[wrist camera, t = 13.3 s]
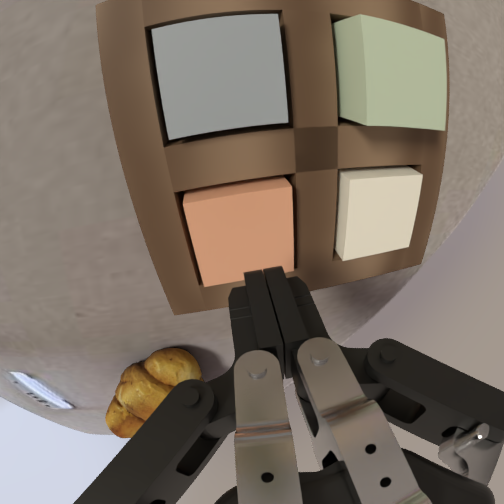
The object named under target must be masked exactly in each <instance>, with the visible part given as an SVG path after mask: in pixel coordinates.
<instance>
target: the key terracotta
mask: <svg viewBox="0 0 504 504" xmlns="http://www.w3.org/2000/svg"><path fill="white" fill-rule="evenodd" d="M183 207H184V211H185V215H186V219H187V223H188V227H189V231H190V235H191V239H192V243H193V247H194V251H195V255H196V258H197V262H198V266H199V269H200V273H201V277H202V280H203V284H204V287H207V286H213V285H219V284H225V283H231V282H236V281H242V280H244V274H243V272H248V271H254V270H260V269H262V271H263V269H265V268H270V267H276V266H282V267H283V270H284V273H286V272H291V271H294V238H293V201H292V186H291V185H290V183H289V182H288V181H287V180H286V178H285V177H284V176H283V175H275V176H268V177H260V178H253V179H247V180H240V181H234V182H228V183H222V184H216V185H210V186H205V187H199V188H194V189H189V190H185V194H184V200H183Z"/></svg>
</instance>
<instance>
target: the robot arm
mask: <svg viewBox="0 0 504 504" xmlns="http://www.w3.org/2000/svg"><path fill="white" fill-rule="evenodd" d="M243 274H244V280H245V286H240V287H234V288H232V290H231V292H230V294H229V297H228V303H229V311H230V319H231V327H232V335H233V342H234V349H235V360H234V363H233V365H232V367H231V368H230V369H229V370H228V371H227V372H226V373H225V374H223V375H222V376H220V377H218V378H216V379H213V380H211V381H209V382H207V383H205V382H204V381H201V380H198V379H188V380H184V381H182V382H180V383H178V384H177V385H176V386H175V387H174V388H173V389H172V390H171V391H170V392H169V394H168V395H167V396H166V397H165V398H164V400H163V401H162V402H161V403H160V405H159V406H158V407H157V408H156V409H155V411H154V412H153V413H152V414H151V415H150V416H149V418H148V419H147V420H146V421H145V422H144V424H143V425H142V426H141V427H140V428H139V429H138V431H137V432H136V433H135V434H134V435H133V437H132V438H131V439H130V440H129V441H128V442H127V444H126V445H125V446H124V447H123V448H122V449H121V451H120V452H119V453H118V454H117V455H116V457H114V459H113V460H112V461H111V462H110V463H109V464H108V465H107V467H106V468H105V469H104V470H103V471H102V472H101V473H100V474H99V476H98V477H97V478H96V479H95V480H94V481H93V482H92V484H91V485H90V486H89V487H88V488H87V489H86V490H85V491H84V492H83V493H82V494H81V496H80V497H79V498H78V499H77V500H76V501H75V502H74V503H73V504H176V502H177V501H178V500H179V498H181V496H182V495H183V494H184V493H185V491H186V490H187V489H188V488H189V486H190V485H191V484H192V483H193V481H194V480H195V479H196V478H197V476H198V475H199V474H200V472H201V471H202V470H203V468H204V467H205V466H206V465H207V463H208V462H209V460H210V459H211V458H212V456H213V455H214V454H215V452H216V451H217V449H218V448H219V447H220V445H221V444H222V443H223V441H224V440H225V438H226V437H227V435H228V434H229V433H231V432H233V431H235V430H236V432H235V437H234V447H235V463H236V478H237V486H235V487H233V488H232V489H230V490H228V491H227V492H226V493H225V494H223V495H222V496H221V497H220V498H219V499H218V500H217V501H216V502H215V504H495V499H494V495H493V493H492V491H491V490H490V488H488V487H487V485H488V483H489V481H490V479H491V476H492V474H493V471H494V469H495V466H496V464H497V461H498V458H499V455H500V452H501V450H502V446H503V444H504V392H503V391H501V390H499V389H497V388H495V387H492V386H490V385H488V384H486V383H484V382H481V381H479V380H477V379H475V378H473V377H471V376H468V375H467V374H465V373H462V372H460V371H458V370H456V369H454V368H452V367H450V366H448V365H446V364H443V363H441V362H439V361H437V360H435V359H433V358H431V357H429V356H427V355H425V354H422V353H421V352H419V351H416V350H414V349H412V348H410V347H408V346H406V345H404V344H402V343H400V342H398V341H396V340H393V339H388V338H384V339H379V340H377V341H376V342H374V343H373V344H372V345H371V346H370V347H369V348H346V347H343V346H340V345H338V344H336V343H335V342H334V341H333V340H332V339H331V338H330V337H329V335H328V333H327V331H326V329H325V326H324V324H323V322H322V319H321V317H320V315H319V312H318V310H317V308H316V305H315V304H314V301H313V298H312V296H311V294H310V292H309V289H308V287H307V285H306V283H305V282H303V281H302V280H301V279H300V278H299V277H298V276H294V277H289V278H286V275H285V273H284V270H283V267H282V266H276V267H270V268H265V269H263V271H262V269H260V270H254V271H248V272H243ZM284 374H285V377H286V379H287V378H292V377H293V381H294V384H295V388H296V389H295V394H296V398H297V401H298V404H299V407H300V409H301V412H302V415H303V417H304V420H305V423H306V425H307V428H308V431H309V433H310V436H311V439H312V445H313V450H314V454H315V456H316V459H317V462H318V464H319V467H320V471H318V472H298V468H297V461H296V455H295V449H294V442H293V436H292V431H291V427H290V424H289V418H288V412H287V406H286V399H285V393H284V387H283V379H284ZM387 421H388V422H391V423H392V424H394V425H396V426H398V427H400V428H402V429H404V430H406V431H408V432H410V433H412V434H414V435H416V436H418V437H420V438H422V439H425V440H427V441H429V442H431V443H433V444H436V445H438V446H439V452H438V457H439V459H440V460H442V461H443V462H444V463H445V464H447V465H448V466H449V467H450V468H451V470H452V471H451V470H449V469H446V468H444V467H442V466H440V465H438V464H436V463H434V462H431V461H430V460H428V459H426V458H424V457H422V456H420V455H418V454H416V453H414V452H412V451H409V450H406V449H403V448H400V446H399V444H398V442H397V440H396V438H395V436H394V434H393V432H392V429H391V428H390V426H389V424H388V422H387Z"/></svg>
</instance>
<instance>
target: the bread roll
mask: <svg viewBox="0 0 504 504" xmlns="http://www.w3.org/2000/svg"><path fill="white" fill-rule="evenodd" d="M201 375H202V374H201V370H200V367H199V365H198V363H197V361H196V359H195V358H194V357H193V356H192V355H191V354H190V353H188V352H187V351H185V350H183V349H179V348H166V349H161V350H157V351H155V352H153V353H152V354H151V355H150V356H149V357H148V358H147V359H146V361H145V362H139V363H134V364H132V365H131V366H129V367H127V368H126V369H125V370H124V372H123V373H122V375H121V380H120V383H119V384H118V386H117V388H116V391H115V393H116V394H115V396H114V397H113V400H112V401H111V403H110V405H109V407H108V410H107V413H106V417H105V418H106V423H107V425H108V427H109V429H110V430H111V431H112V432H113V433H114V434H115V435H116V436H118V437H120V438H132V437H133V435H134V434H135V433H136V432H137V431H138V429H139V428H140V427H141V426H142V425H143V424H144V422H145V421H146V420H147V419H148V418H149V416H150V415H151V414H152V413H153V412H154V411H155V409H156V408H157V407H158V406H159V405H160V403H161V402H162V401H163V400H164V398H165V397H166V396H167V395H168V394H169V392H170V391H171V390H172V389H173V388H174V387H175V386H176V385H177V384H178V383H180V382H182V381H184V380H188V379H198V380H201V381H204V380H203V379H202V378H201Z"/></svg>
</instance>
